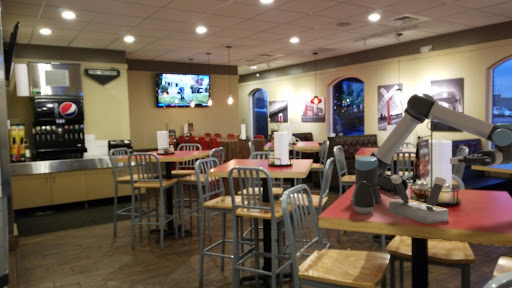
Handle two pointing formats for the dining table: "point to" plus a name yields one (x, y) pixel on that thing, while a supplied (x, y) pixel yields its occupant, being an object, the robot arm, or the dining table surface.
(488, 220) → the dining table surface
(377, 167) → the robot arm
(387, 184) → the muzzle brake
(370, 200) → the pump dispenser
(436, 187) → the lever
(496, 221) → the dining table surface
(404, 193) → the lever
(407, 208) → the switch panel
